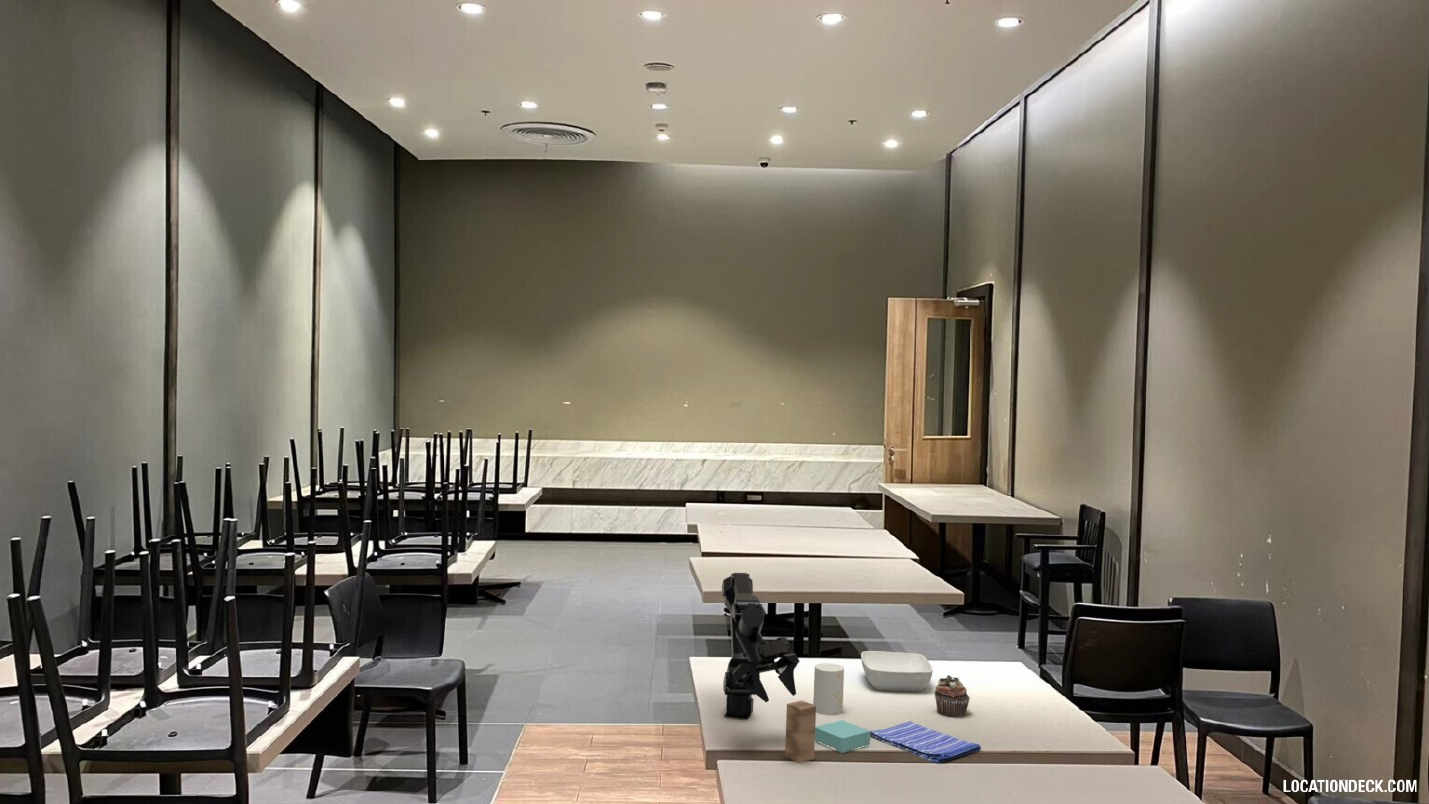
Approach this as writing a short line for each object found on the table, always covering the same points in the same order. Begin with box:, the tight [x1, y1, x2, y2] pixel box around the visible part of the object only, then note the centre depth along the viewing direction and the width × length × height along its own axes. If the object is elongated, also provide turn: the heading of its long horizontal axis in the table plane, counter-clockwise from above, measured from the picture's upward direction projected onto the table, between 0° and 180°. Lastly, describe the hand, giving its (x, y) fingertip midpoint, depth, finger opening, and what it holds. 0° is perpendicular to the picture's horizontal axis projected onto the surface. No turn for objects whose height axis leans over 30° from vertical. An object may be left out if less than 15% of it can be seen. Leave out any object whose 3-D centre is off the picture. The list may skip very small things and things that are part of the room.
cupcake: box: [934, 675, 971, 718], centre depth 295 cm, size 10×10×10 cm
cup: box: [812, 662, 845, 716], centre depth 293 cm, size 8×8×12 cm
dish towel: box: [869, 720, 982, 764], centre depth 269 cm, size 17×24×3 cm
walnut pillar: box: [784, 699, 817, 764], centre depth 256 cm, size 5×5×13 cm
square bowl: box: [860, 650, 934, 693], centre depth 320 cm, size 20×20×8 cm
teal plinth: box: [815, 719, 871, 754], centre depth 267 cm, size 10×10×4 cm
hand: (781, 698), depth 261 cm, fingers open, 9 cm apart
